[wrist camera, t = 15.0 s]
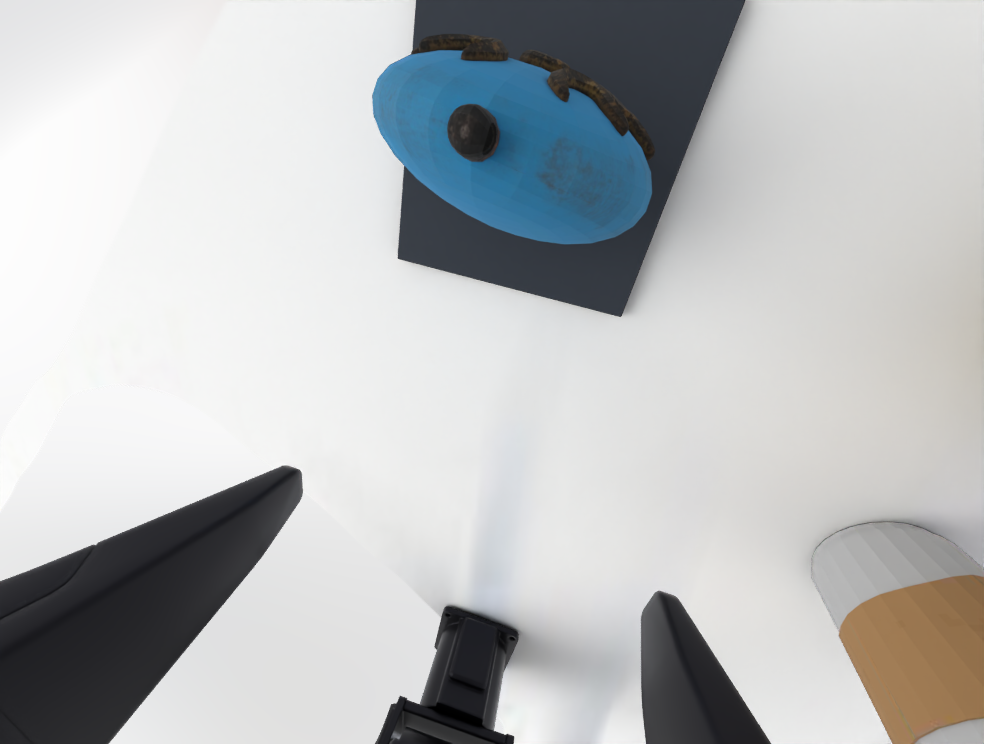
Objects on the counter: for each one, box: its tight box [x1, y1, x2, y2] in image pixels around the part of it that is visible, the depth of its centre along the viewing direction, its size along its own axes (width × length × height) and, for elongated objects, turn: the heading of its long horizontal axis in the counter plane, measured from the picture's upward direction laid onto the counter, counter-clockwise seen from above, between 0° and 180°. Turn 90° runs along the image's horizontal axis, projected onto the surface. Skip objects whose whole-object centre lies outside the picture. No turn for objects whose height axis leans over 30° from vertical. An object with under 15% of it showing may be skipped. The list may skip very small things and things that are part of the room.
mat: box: [398, 0, 745, 317], centre depth 15 cm, size 11×11×1 cm
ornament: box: [372, 34, 655, 244], centre depth 10 cm, size 8×5×10 cm, turn 69°
